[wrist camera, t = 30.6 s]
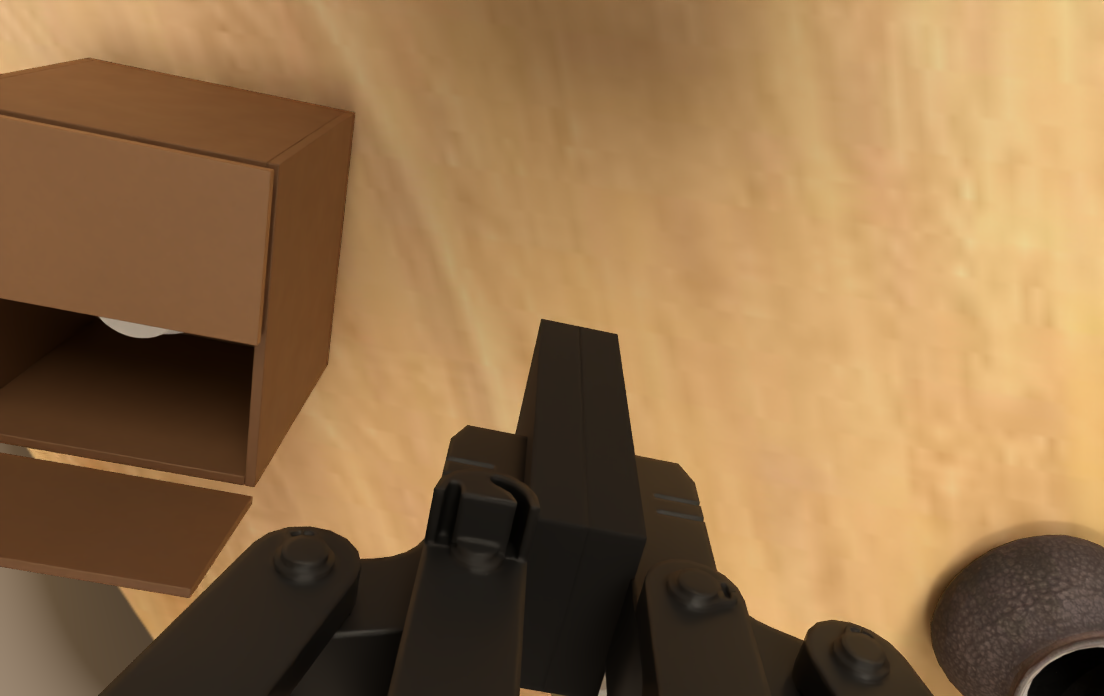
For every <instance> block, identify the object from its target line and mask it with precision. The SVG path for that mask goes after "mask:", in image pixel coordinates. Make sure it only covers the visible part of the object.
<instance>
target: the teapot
mask: <svg viewBox="0 0 1104 696" xmlns="http://www.w3.org/2000/svg"><path fill="white" fill-rule="evenodd" d="M931 638H932V646H933V650H934V653H935V655H936V658H937V661H938V663H939V665H940V667H941V668H942V670H943V671H944V673H945V674H946V676H947V678H948V679H949V681H950V682H951V683H952V684H953V685H954V686H955V687H956V688H957V689H958V690H959V691H960V692H961V693H962V694H963V695H964V696H1104V548H1103V547H1102V546H1100V545H1098V544H1095V543H1092V542H1090V541H1088V540H1084V539H1081V538H1076V537H1072V536H1067V535H1044V536H1035V537H1029V538H1023V539H1018V540H1015V541H1012V542H1010V543H1007V544H1004V545H1002V546H999V547H997V548H995V549H993V550H990V551H989V552H987V553H985V554H984V555H982V556H981V557H979V558H978V559H976V560H975V561H973V562H972V563H971V564H969V565H968V566H967V567H966V568H964V569H963V570H962V571H961V572H960V573H958V574H957V575H956V576H955V578H954V579H953V580H952V581H951V582H950V584H949V585H948V586H947V587H946V589H945V590H944V592H943V593H942V595H941V597H940V598H939V600H938V603H937V606H936V608H935V611H934V614H933V617H932V621H931Z"/></svg>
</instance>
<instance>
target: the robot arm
mask: <svg viewBox="0 0 1104 696" xmlns="http://www.w3.org/2000/svg"><path fill="white" fill-rule="evenodd" d="M699 504H700V502H699V498H698V494H697V490H696V486H695V483H694V482H693V480H692V479H691V478H690V477H689V476H688V475H687V473H686V472H685V471H684V470H683V469H682V467H681V466H680V465H679V464H677V463H672V462H667V461H662V460H656V459H651V458H646V457H641V456H636V455H635V452H634V445H633V438H632V431H631V424H630V418H629V411H628V404H627V397H626V390H625V383H624V376H623V369H622V362H621V355H620V348H619V342H618V335H617V334H613V333H609V332H604V331H599V330H594V329H589V328H584V327H579V326H574V325H569V324H565V323H560V322H555V321H550V320H545V319H541V323H540V327H539V331H538V336H537V340H536V345H535V349H534V354H533V358H532V362H531V367H530V371H529V376H528V380H527V385H526V389H525V393H524V398H523V402H522V407H521V411H520V416H519V420H518V424H517V429H516V433H515V434H511V433H506V432H501V431H495V430H490V429H485V428H480V427H475V426H470V425H467V426H466V427H464V428H463V429H462V430H461V431H460V432H458V433H457V434H456V435H455V436H453V437H452V438H451V441H450V445H449V449H448V453H447V457H446V461H445V465H444V470H443V474H442V478H441V479H440V480H439V482H438V483H437V485H436V486H435V488H434V493H433V498H432V503H431V508H430V514H429V519H428V524H427V530H426V535H425V538H424V539H423V540H422V542H421V543H420V544H419V545H418V546H416V547H414V548H412V549H411V550H409V551H407V552H405V553H401V554H398V555H395V556H391V557H383V558H374V559H360V557H359V553H358V551H357V549H356V548H355V547H354V546H353V545H352V544H351V543H350V542H349V541H348V539H346V538H344V537H342V536H340V535H338V534H336V533H334V532H332V531H329V530H325V529H320V528H315V527H310V526H309V527H287V528H284V529H280V530H276V531H273V532H269V533H267V534H266V535H264V536H263V537H261V538H260V539H258V540H257V541H255V542H254V543H253V544H252V545H251V546H250V547H248V548H247V549H246V550H245V551H244V552H243V553H242V554H241V555H240V556H239V557H238V558H237V559H236V560H235V561H234V562H233V563H232V564H231V565H230V566H229V567H228V568H227V569H226V570H225V571H224V572H223V573H222V574H221V575H220V576H219V577H218V578H217V579H216V580H215V581H214V582H213V583H212V584H211V585H210V586H209V587H208V588H207V589H206V590H205V591H204V592H203V593H202V594H201V595H200V596H199V597H198V598H197V599H196V600H195V601H194V602H193V603H192V604H191V605H190V606H189V607H188V608H187V609H186V610H184V611H183V612H182V613H181V614H180V615H179V616H178V617H177V618H176V619H175V620H174V621H173V622H172V623H171V624H170V625H169V626H168V627H167V628H166V629H165V630H164V631H163V632H162V633H161V634H160V635H159V636H158V637H157V638H156V639H155V640H154V641H153V642H152V643H151V644H150V645H149V646H148V647H147V648H146V649H145V650H144V651H143V652H142V653H141V654H140V655H139V656H138V657H137V658H136V659H135V660H134V661H133V662H132V663H131V664H130V665H129V666H128V667H127V668H126V669H125V670H124V671H123V672H122V673H121V674H119V676H117V678H115V679H114V680H113V681H112V682H111V683H110V684H109V685H108V686H107V687H106V688H105V689H104V690H103V691H102V692H101V693H100V694H99V695H98V696H519V695H520V688H524V689H530V690H536V691H541V692H547V693H553V694H559V695H565V696H598V694H599V691H600V688H601V685H602V681H603V678H604V675H605V674H606V691H607V696H933V694H932V693H931V692H930V690H929V689H928V688H927V686H926V685H925V684H924V682H923V681H922V680H921V679H920V677H919V676H918V675H917V673H916V672H915V671H914V669H913V668H912V667H911V665H910V664H909V663H908V662H907V660H906V659H905V658H904V657H903V656H902V655H901V654H900V653H899V652H898V651H897V650H896V649H895V648H894V647H893V646H892V645H891V644H890V643H889V642H888V641H886V640H885V639H883V638H882V637H880V636H879V635H877V634H875V633H874V632H872V631H871V630H868V629H866V628H864V627H861V626H858V625H856V624H853V623H850V622H843V621H837V620H828V621H822V622H817V623H816V624H815V625H814V626H813V627H811V628H810V629H809V630H808V632H807V634H806V636H805V639H804V641H803V640H801V639H798V638H796V637H793V636H791V635H788V634H786V633H784V632H781V631H779V630H776V629H774V628H771V627H769V626H767V625H765V624H763V623H761V622H759V621H757V620H755V619H754V618H752V617H751V616H749V614H748V611H747V607H746V604H745V601H744V599H743V597H742V595H741V593H740V591H739V589H738V588H737V587H736V586H735V585H734V584H733V583H732V582H731V581H730V580H729V579H728V578H727V577H726V576H724V575H723V574H721V573H719V572H717V569H716V565H715V561H714V557H713V553H712V549H711V545H710V541H709V537H708V533H707V529H706V525H705V522H703V519H704V517H703V513H702V510H701V506H699Z"/></svg>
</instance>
